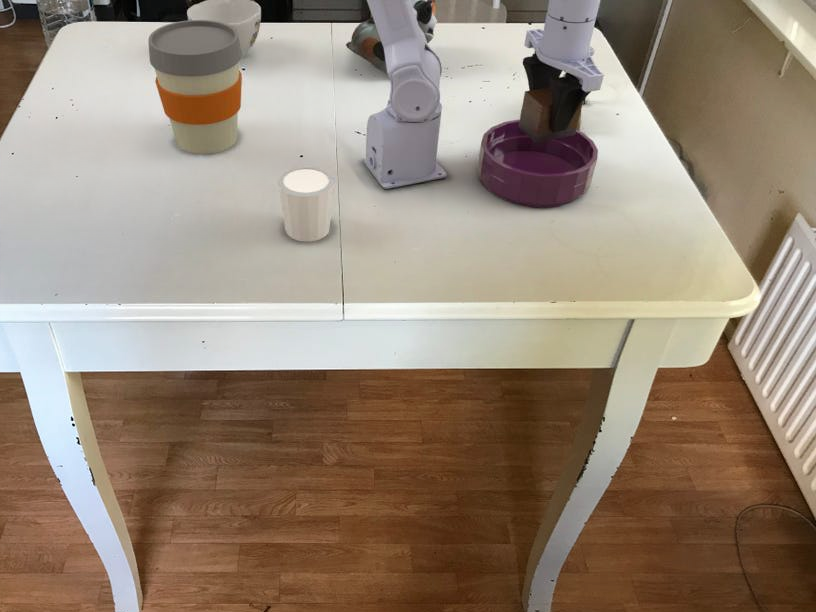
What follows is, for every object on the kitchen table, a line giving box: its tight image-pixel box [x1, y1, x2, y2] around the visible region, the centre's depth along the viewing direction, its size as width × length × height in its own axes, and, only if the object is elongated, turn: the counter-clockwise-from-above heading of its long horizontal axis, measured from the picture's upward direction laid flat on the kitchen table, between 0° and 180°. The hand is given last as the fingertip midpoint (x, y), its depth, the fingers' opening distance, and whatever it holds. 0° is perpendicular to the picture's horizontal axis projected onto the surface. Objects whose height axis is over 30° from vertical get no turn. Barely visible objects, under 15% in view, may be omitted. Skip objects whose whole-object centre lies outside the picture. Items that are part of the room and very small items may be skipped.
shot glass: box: [277, 165, 335, 243], centre depth 93 cm, size 7×7×7 cm
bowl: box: [476, 118, 599, 208], centre depth 102 cm, size 15×15×5 cm
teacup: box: [186, 0, 262, 60], centre depth 129 cm, size 15×12×8 cm
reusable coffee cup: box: [148, 19, 243, 155], centre depth 106 cm, size 13×13×15 cm
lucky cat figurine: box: [345, 0, 438, 74], centre depth 127 cm, size 15×12×14 cm
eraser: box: [519, 87, 584, 142], centre depth 98 cm, size 6×4×5 cm
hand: (548, 121), depth 98 cm, fingers closed on eraser, 4 cm apart
